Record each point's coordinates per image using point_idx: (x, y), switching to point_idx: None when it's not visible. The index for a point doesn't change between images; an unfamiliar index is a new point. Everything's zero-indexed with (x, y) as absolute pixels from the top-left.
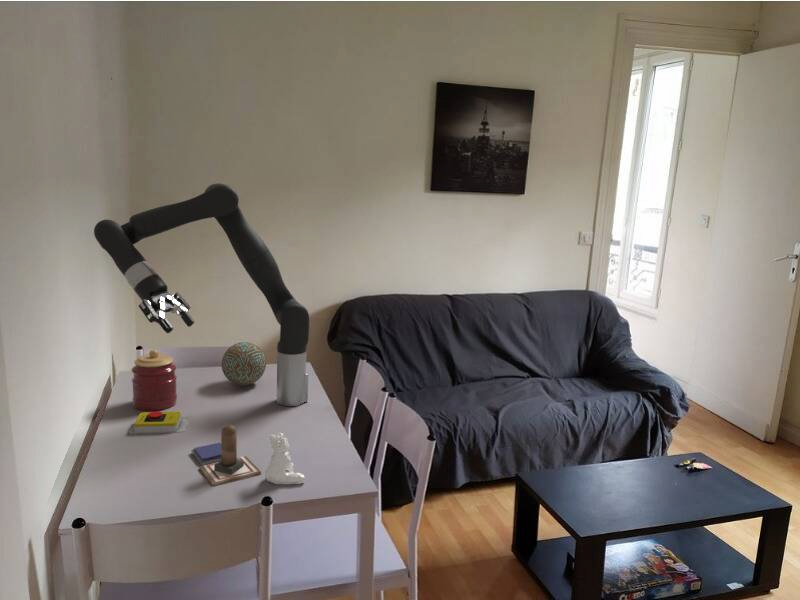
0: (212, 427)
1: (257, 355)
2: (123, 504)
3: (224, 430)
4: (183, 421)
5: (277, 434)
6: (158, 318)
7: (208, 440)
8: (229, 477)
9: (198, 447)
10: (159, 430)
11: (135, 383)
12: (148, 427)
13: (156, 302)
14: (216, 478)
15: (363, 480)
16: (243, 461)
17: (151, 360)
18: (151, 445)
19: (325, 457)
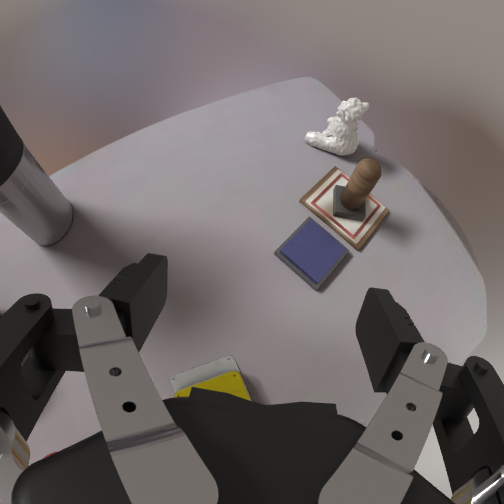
0: (194, 310)
1: None
2: (459, 292)
3: (380, 171)
4: (184, 381)
5: (355, 103)
6: (447, 364)
7: (255, 289)
8: (369, 195)
9: (313, 276)
10: (251, 399)
11: None
12: None
13: (426, 497)
14: (378, 210)
15: (298, 79)
16: (335, 185)
17: None
18: (309, 378)
19: (257, 114)
